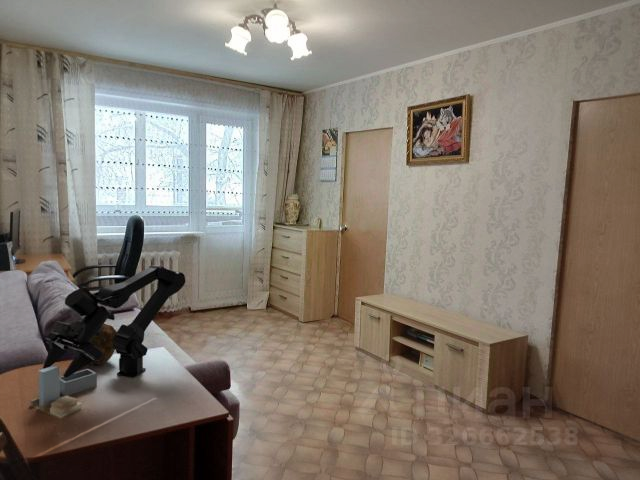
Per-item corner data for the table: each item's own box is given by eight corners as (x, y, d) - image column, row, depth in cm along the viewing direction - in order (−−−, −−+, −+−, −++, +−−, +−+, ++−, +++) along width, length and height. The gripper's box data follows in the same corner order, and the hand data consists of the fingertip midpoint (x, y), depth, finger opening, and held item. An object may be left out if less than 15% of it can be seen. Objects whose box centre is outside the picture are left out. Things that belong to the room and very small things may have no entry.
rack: (53, 396, 132) (53, 385, 132) (84, 410, 126) (84, 398, 125) (28, 406, 126) (27, 394, 126) (59, 421, 120) (59, 409, 119)
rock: (122, 357, 163) (122, 316, 161) (103, 372, 150) (103, 327, 148) (87, 355, 163) (86, 314, 161) (65, 369, 151) (64, 325, 149)
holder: (88, 382, 142) (88, 368, 141) (96, 387, 139) (96, 373, 139) (56, 392, 135) (56, 377, 134) (65, 398, 132) (65, 382, 131)
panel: (55, 399, 130) (54, 365, 128) (59, 401, 129) (59, 366, 127) (39, 405, 126) (38, 370, 124) (43, 407, 125) (42, 372, 124)
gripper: (51, 304, 135) (12, 351, 126) (93, 315, 126) (54, 367, 117) (77, 324, 142) (42, 370, 134) (118, 336, 134) (83, 386, 125)
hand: (54, 372), depth 127 cm, fingers open, 9 cm apart
